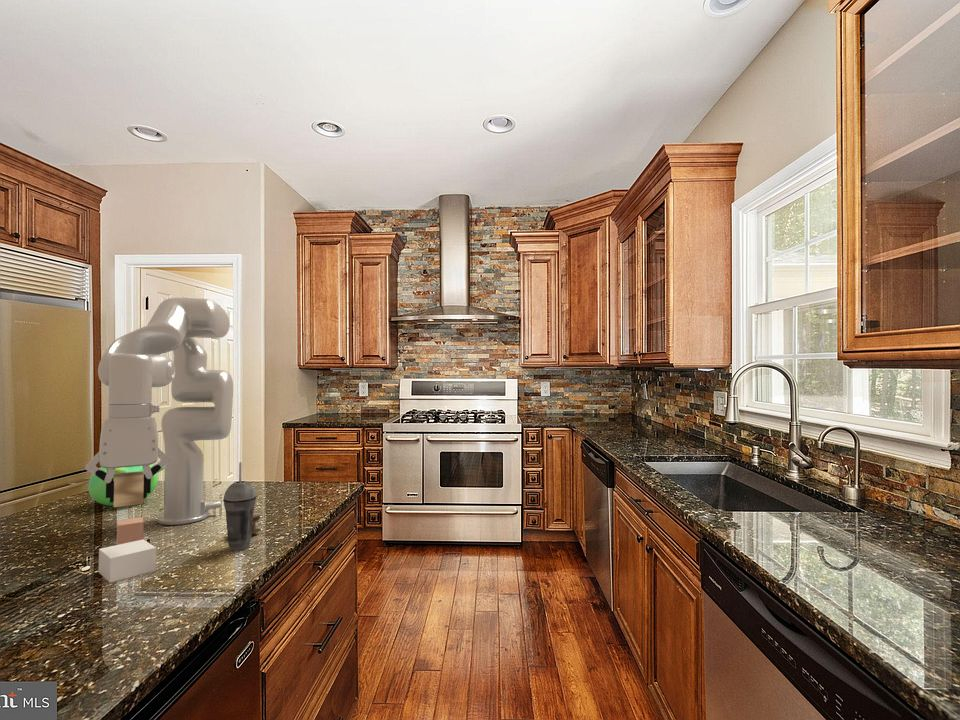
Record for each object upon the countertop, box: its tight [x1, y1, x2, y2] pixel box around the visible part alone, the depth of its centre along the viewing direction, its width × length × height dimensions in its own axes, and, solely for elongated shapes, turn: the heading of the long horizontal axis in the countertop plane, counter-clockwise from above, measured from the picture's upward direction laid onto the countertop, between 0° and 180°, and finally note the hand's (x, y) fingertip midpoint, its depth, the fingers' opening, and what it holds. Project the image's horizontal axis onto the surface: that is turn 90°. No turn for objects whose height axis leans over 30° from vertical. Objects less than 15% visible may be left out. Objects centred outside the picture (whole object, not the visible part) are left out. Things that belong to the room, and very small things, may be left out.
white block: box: [98, 538, 157, 583], centre depth 106 cm, size 8×8×5 cm
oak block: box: [113, 471, 144, 508], centre depth 106 cm, size 5×5×6 cm
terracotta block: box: [116, 516, 145, 545], centre depth 121 cm, size 5×5×6 cm
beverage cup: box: [222, 461, 258, 551], centre depth 121 cm, size 7×7×20 cm
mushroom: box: [251, 512, 261, 536], centre depth 129 cm, size 8×8×6 cm
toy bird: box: [87, 464, 165, 507], centre depth 158 cm, size 18×17×15 cm
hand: (128, 498), depth 106 cm, fingers closed on oak block, 5 cm apart
